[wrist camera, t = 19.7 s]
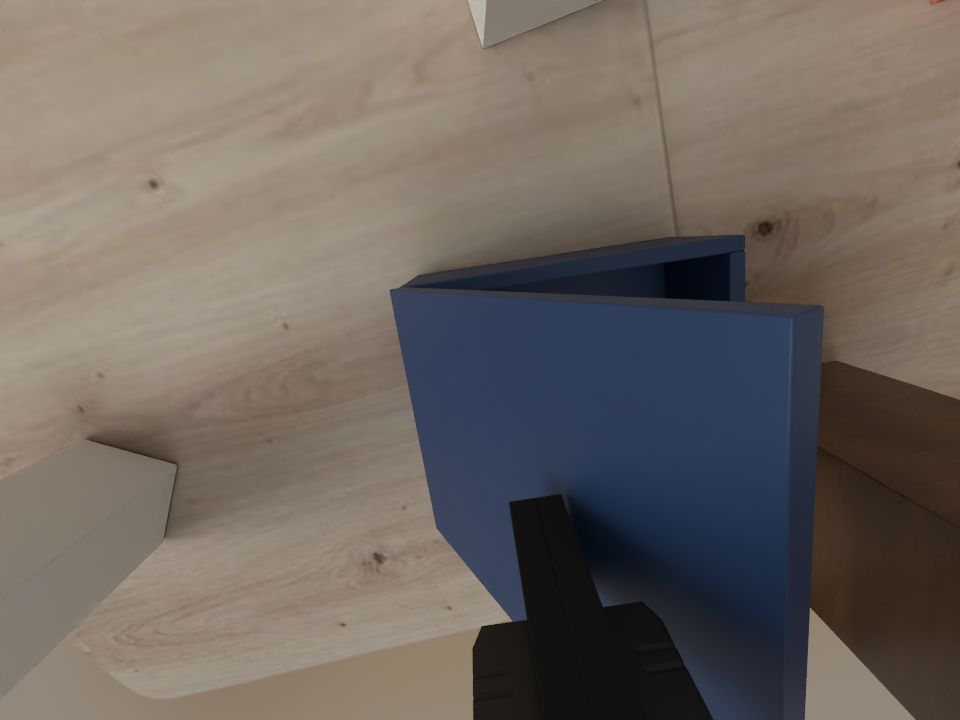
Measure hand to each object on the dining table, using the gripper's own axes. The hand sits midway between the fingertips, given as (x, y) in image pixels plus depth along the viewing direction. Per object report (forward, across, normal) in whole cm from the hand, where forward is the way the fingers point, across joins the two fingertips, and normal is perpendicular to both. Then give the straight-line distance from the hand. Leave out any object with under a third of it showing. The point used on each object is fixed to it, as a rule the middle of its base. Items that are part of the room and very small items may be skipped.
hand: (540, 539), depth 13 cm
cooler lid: (+3, 0, 0) cm, 3 cm away
